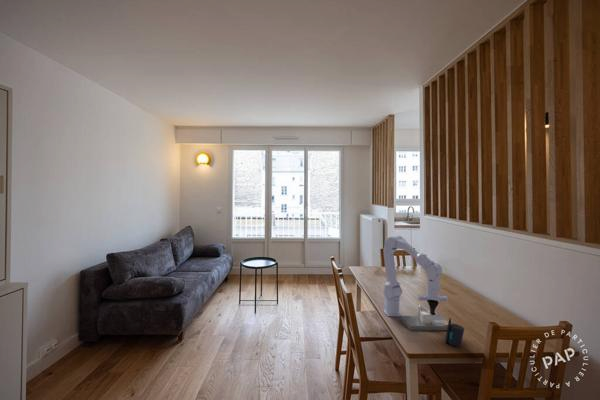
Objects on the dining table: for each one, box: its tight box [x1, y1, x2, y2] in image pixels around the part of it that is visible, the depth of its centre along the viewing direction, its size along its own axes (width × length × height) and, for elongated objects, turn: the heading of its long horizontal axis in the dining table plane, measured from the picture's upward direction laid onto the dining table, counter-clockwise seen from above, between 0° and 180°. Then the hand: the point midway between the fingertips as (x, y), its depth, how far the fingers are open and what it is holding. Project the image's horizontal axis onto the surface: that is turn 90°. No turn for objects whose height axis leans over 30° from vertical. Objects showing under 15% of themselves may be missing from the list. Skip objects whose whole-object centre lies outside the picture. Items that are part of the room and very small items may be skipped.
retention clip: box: [417, 304, 438, 317], centre depth 158 cm, size 12×2×6 cm, turn 24°
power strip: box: [400, 315, 449, 331], centre depth 157 cm, size 13×22×3 cm, turn 91°
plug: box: [420, 311, 432, 324], centre depth 156 cm, size 4×4×6 cm
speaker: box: [445, 317, 465, 348], centre depth 137 cm, size 8×6×10 cm
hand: (432, 314), depth 153 cm, fingers closed, pressing on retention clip
